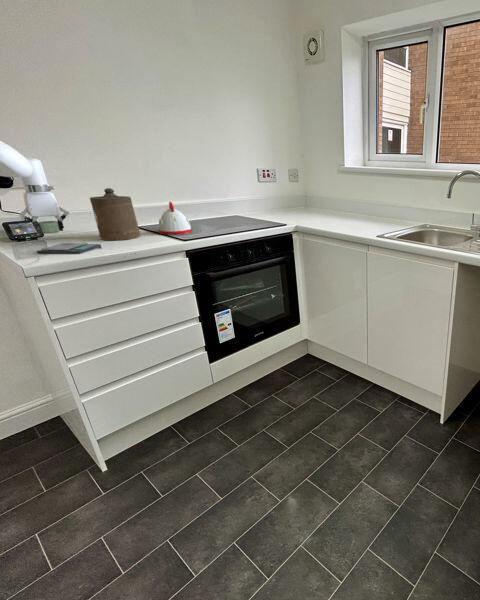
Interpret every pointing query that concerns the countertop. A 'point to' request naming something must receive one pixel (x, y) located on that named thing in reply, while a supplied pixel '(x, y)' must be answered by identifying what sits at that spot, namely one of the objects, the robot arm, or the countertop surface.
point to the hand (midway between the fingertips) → (50, 230)
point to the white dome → (173, 222)
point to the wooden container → (115, 216)
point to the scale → (69, 248)
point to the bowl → (49, 227)
